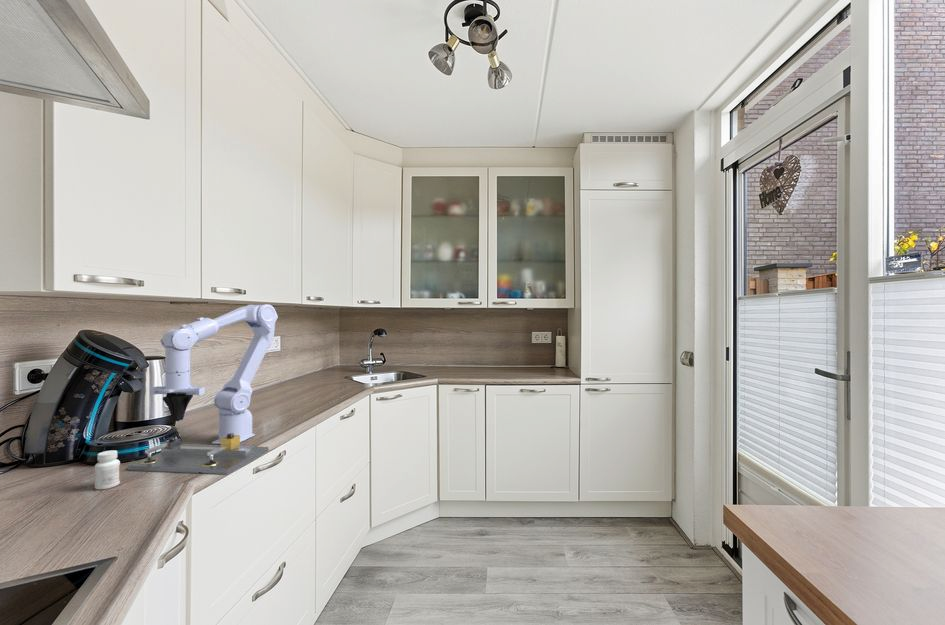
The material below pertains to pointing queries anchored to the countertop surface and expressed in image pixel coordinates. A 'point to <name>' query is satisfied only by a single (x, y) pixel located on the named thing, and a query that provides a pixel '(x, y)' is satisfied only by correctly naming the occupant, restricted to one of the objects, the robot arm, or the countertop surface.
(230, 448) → the sliding leg
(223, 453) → the rail
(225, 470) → the flange plate
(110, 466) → the pill bottle
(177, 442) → the fixed leg
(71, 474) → the countertop surface
